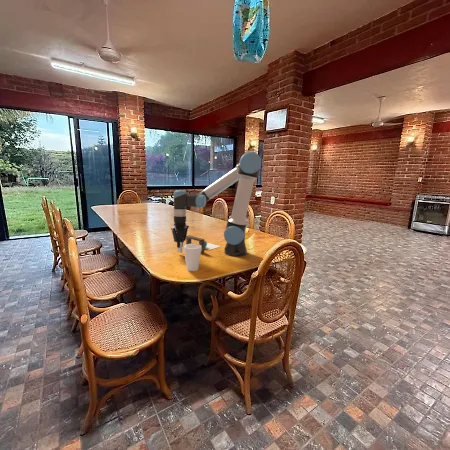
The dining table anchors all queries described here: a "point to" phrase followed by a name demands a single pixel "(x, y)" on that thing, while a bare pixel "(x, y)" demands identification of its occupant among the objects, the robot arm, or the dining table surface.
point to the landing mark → (211, 246)
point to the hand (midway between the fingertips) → (180, 252)
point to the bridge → (201, 241)
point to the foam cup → (192, 256)
